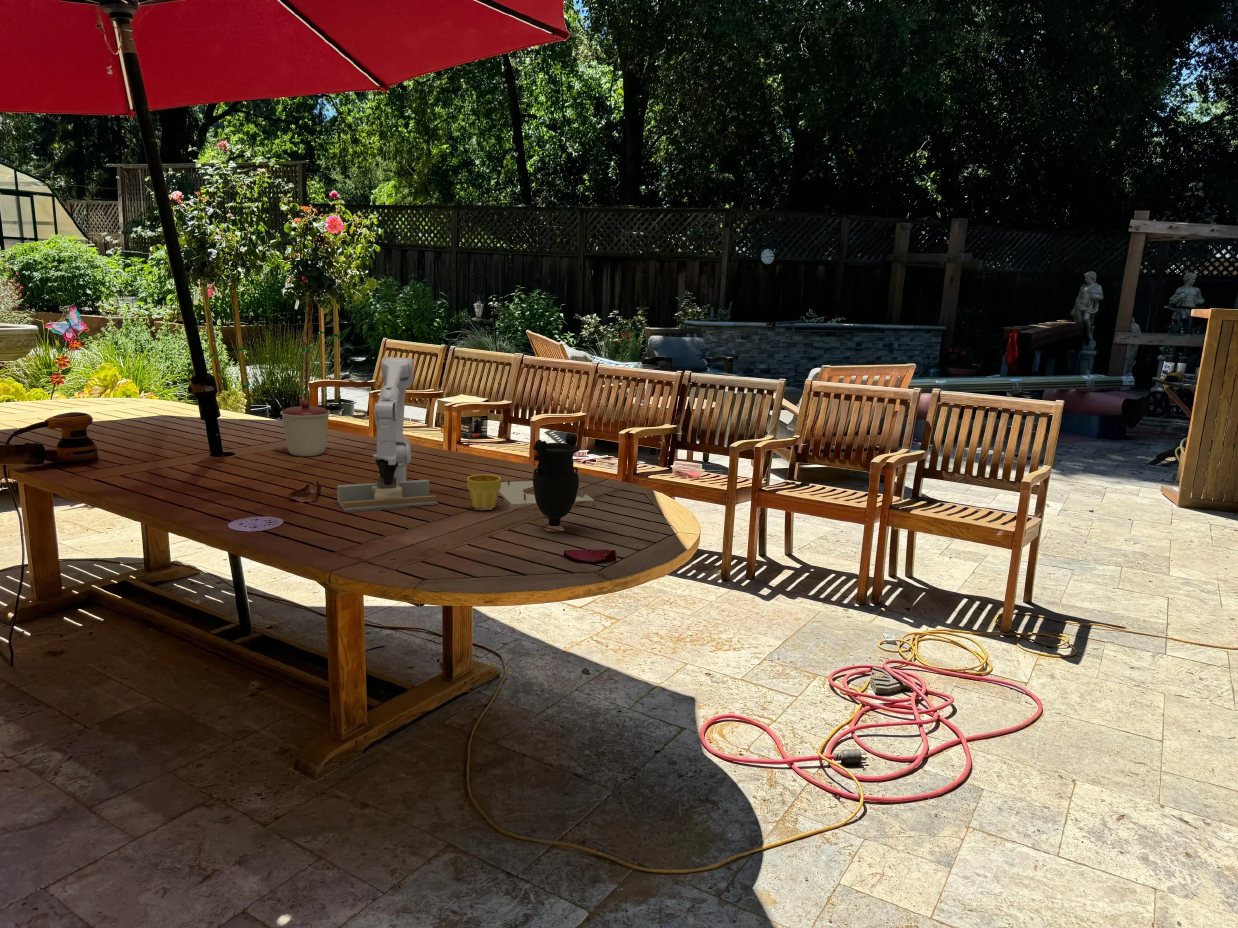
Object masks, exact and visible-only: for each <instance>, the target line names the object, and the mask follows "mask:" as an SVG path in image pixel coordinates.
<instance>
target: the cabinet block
mask: <svg viewBox="0 0 1238 928" xmlns="http://www.w3.org/2000/svg"><path fill="white" fill-rule="evenodd" d="M377 483H378V486H372V499H373V500H375V499H389V498H402V488H401V487H400V486H399V485H396V478H395V477H393V482H392V485H385V484H384V480H383V477H381V476H379V477H377Z"/></svg>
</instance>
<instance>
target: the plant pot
mask: <svg viewBox="0 0 1238 928" xmlns="http://www.w3.org/2000/svg"><path fill="white" fill-rule="evenodd" d="M501 482H502V478H501V477H500V476H498V475H494V474H487V473H486V474H484V473H483V474H474V475H469V476H468V477H467V478H466V488H467V490H469V495H470V499H471V504H472V507H473V506H474V507H477V508H492V507H495V508H496V504H497V500H498V491H499V490H500V489H501Z"/></svg>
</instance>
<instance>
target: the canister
mask: <svg viewBox="0 0 1238 928" xmlns="http://www.w3.org/2000/svg"><path fill="white" fill-rule="evenodd" d="M279 414H280V415H282V423H283V430H284V437H285V442H286V448H287V451H288V453H290V455H292V456H295V457H315V456H320V455H322V454H323V453H324V452H325V449H326V446H327V437H328V428H329V427H328V426H329V416H330V414H331V411H330V410H328V409H326V408H325V407H321V406H311V402H310V400H307V399H303V400H301V401H300V406H293V407H292V406H291V407H287V408H285V409H283V410H281V411H280V413H279Z"/></svg>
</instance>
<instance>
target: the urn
mask: <svg viewBox="0 0 1238 928" xmlns="http://www.w3.org/2000/svg"><path fill="white" fill-rule="evenodd" d="M564 440H565V441H564V442H565V443H564V442H563V443H562V442H547V441H546V440H542V439H538V440H536V441H535V443H534V445H532V450H533V451H535V452H536V454H537V456H538V457H537V458H538V462H537V468H535V469H534V470H533V475H532V481H533V488H534V494H533V495H535V500H536V504H537V506H538V508H539V509H538V510H539V512H541V514H542V515H543V516H545V517H547V518H548V525H550V526H559V525H561V524H562V523H561V519H562V518H563V517H566V516H567V515H568V514H569V513H570V512H571V511H572V509H573V508H572V507H573V505H574V503H575V500H576V497H577V493H578V489H580V488H579V485H580V477H579V474H578V471H579V468H578V467H576V466H575V467H574V455H575V454H576V453H578V452H579V451H580V447H579V446H578V445H576V444H577V442H578V436H576V435H574V434H571V433H568V434H566V435H565V439H564Z"/></svg>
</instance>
